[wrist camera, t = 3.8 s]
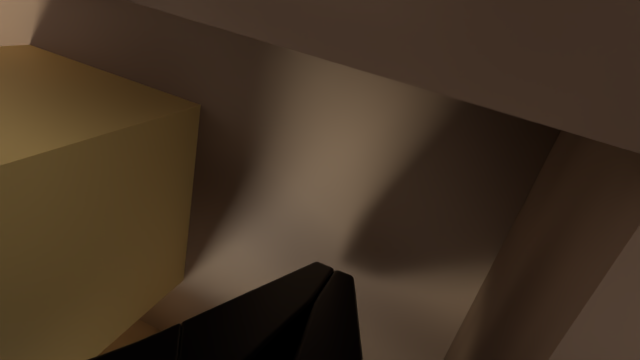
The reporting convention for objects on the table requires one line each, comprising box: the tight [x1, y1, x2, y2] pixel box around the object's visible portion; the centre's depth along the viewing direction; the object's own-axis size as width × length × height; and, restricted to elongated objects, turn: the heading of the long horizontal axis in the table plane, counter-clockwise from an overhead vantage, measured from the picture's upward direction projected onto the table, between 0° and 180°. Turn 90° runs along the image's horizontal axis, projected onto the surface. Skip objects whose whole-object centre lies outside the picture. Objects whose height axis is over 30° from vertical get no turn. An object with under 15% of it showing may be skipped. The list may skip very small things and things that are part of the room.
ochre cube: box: [0, 45, 201, 360], centre depth 8 cm, size 5×5×5 cm
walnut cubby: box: [0, 0, 640, 360], centre depth 9 cm, size 12×16×5 cm
